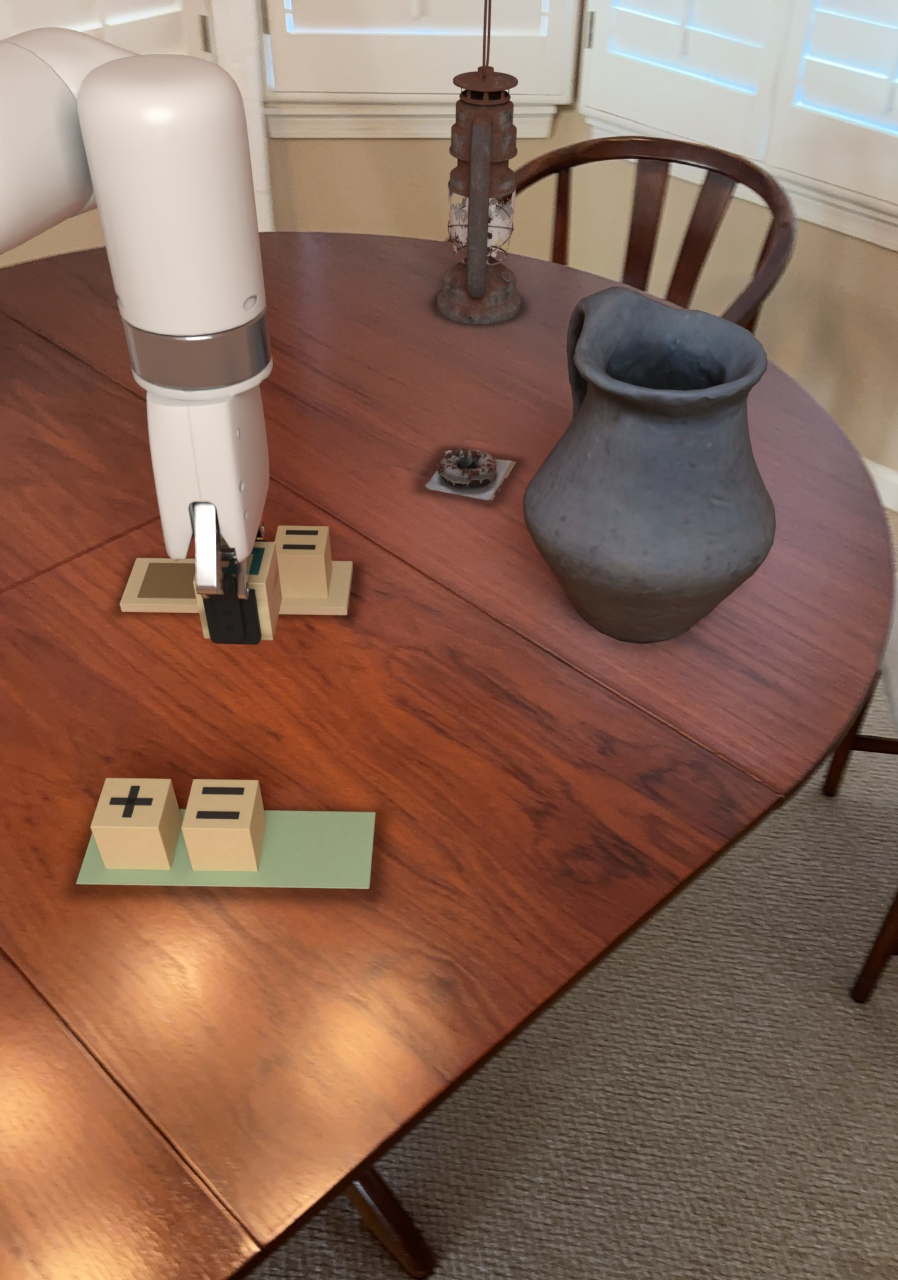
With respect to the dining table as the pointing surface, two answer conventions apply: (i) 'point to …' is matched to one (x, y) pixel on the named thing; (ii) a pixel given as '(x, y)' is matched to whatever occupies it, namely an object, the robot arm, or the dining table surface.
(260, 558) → the cream block
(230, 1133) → the dining table surface
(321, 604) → the mat
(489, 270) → the lantern
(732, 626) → the dining table surface
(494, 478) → the donut
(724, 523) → the pitcher
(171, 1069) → the dining table surface
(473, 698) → the dining table surface
